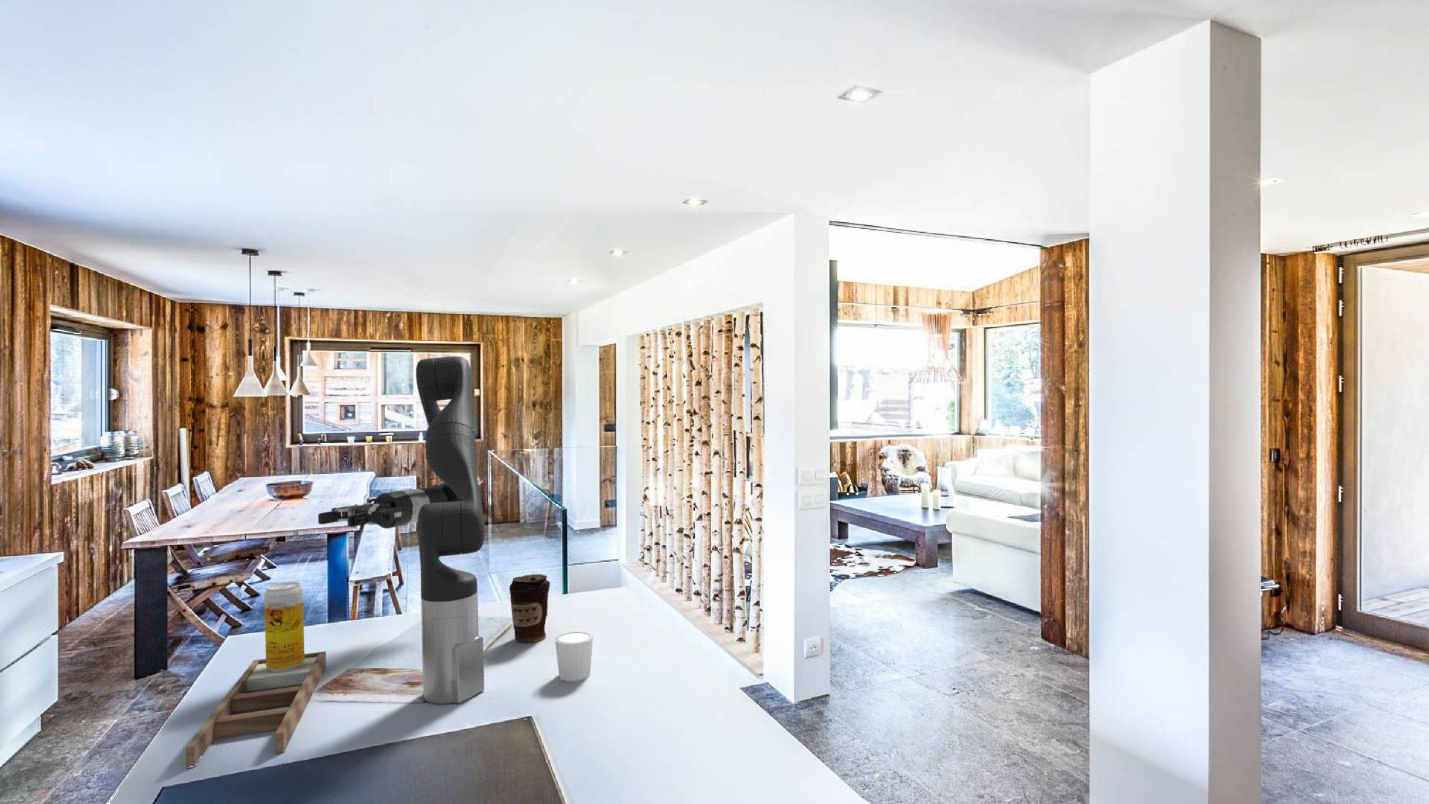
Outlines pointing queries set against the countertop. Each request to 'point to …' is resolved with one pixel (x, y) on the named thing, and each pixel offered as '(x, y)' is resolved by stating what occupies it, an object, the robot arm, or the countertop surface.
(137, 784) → the countertop surface
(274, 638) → the beer can
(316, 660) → the brown wooden flat frame
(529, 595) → the coffee cup
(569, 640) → the white cup
